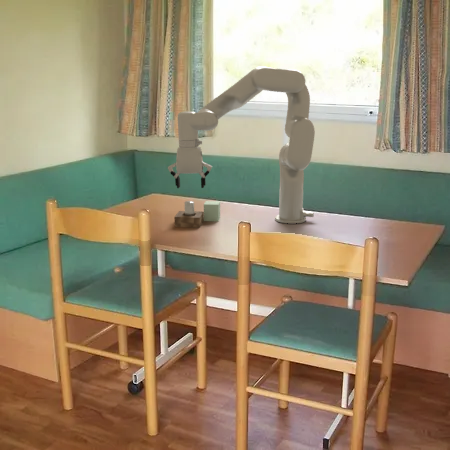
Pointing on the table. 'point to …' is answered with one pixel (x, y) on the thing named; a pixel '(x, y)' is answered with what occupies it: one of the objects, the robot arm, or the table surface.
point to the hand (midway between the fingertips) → (190, 187)
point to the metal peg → (189, 208)
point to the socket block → (189, 219)
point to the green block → (212, 211)
